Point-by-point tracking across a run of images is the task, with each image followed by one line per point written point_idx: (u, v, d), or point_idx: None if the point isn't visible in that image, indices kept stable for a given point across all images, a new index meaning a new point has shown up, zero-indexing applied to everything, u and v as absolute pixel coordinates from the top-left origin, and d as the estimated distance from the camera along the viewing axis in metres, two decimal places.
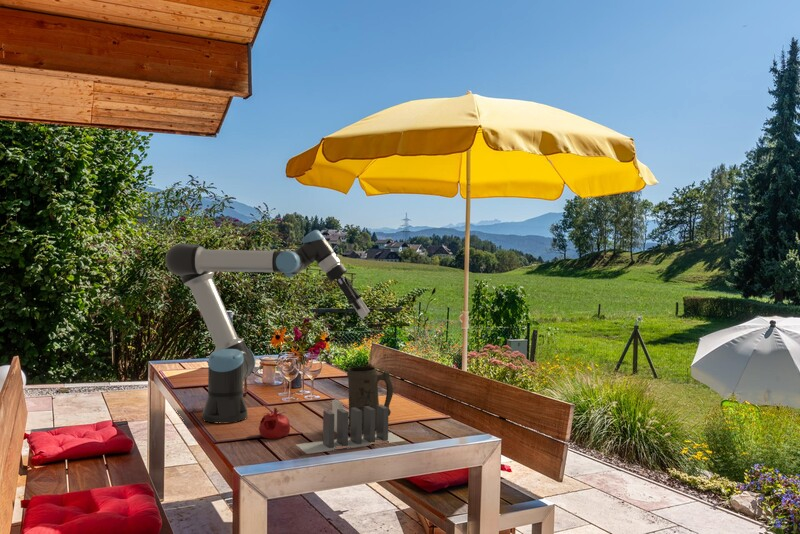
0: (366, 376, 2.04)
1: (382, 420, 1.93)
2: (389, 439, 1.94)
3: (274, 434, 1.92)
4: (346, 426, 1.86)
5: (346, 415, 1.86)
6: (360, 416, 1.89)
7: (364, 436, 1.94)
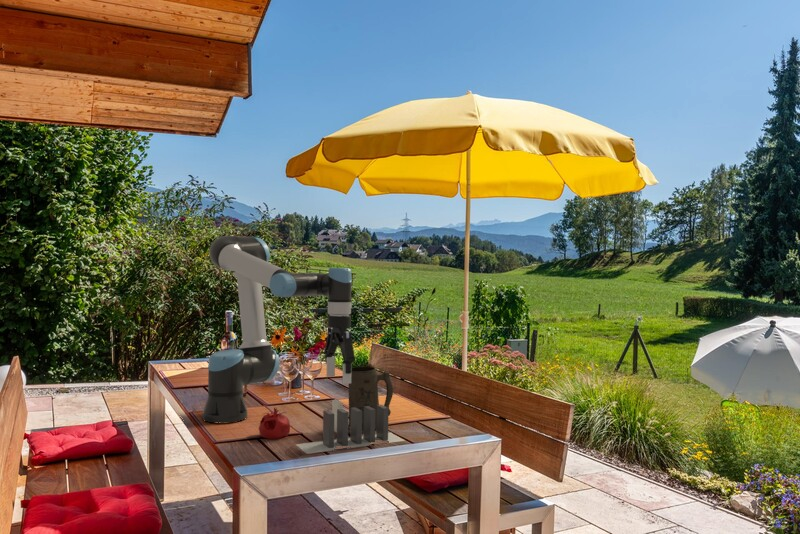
0: (366, 376, 2.04)
1: (382, 420, 1.93)
2: (389, 439, 1.94)
3: (274, 434, 1.92)
4: (346, 426, 1.86)
5: (346, 415, 1.86)
6: (360, 416, 1.89)
7: (364, 436, 1.94)
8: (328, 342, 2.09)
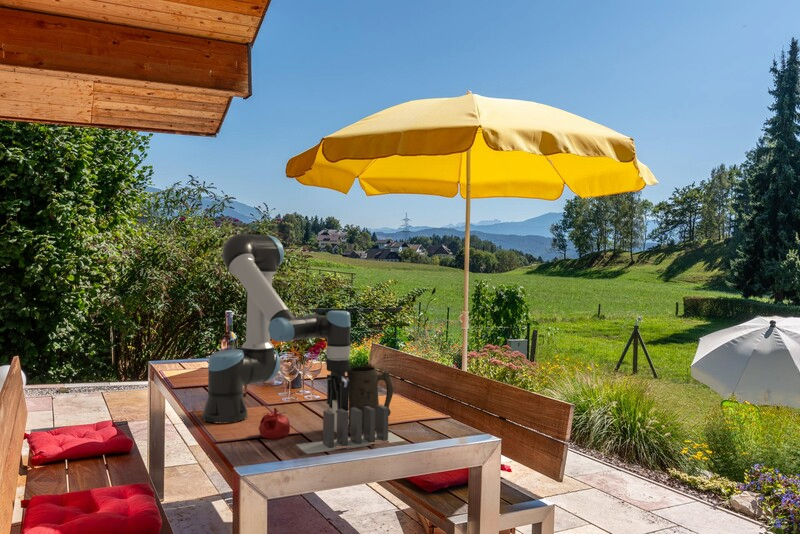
0: (366, 376, 2.04)
1: (382, 420, 1.93)
2: (389, 439, 1.94)
3: (274, 434, 1.92)
4: (346, 426, 1.86)
5: (346, 415, 1.86)
6: (360, 416, 1.89)
7: (364, 436, 1.94)
8: (329, 389, 2.07)
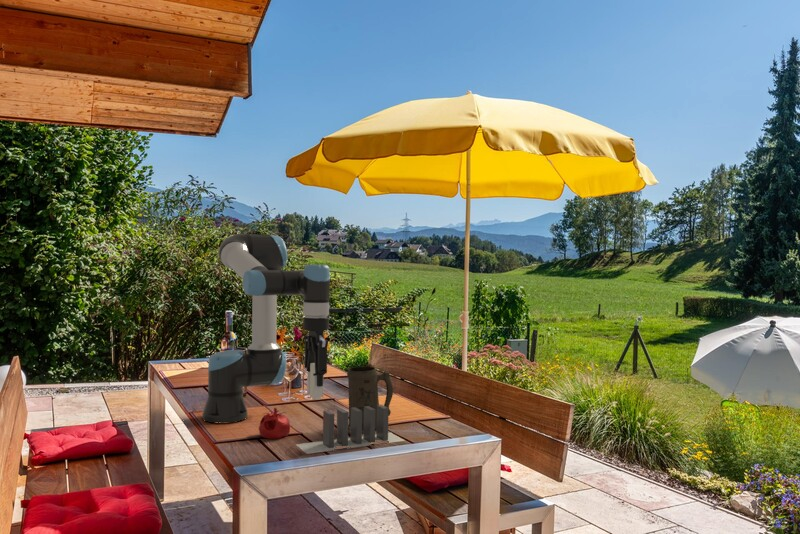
0: (366, 376, 2.04)
1: (382, 420, 1.93)
2: (389, 439, 1.94)
3: (274, 434, 1.92)
4: (346, 426, 1.86)
5: (346, 415, 1.86)
6: (360, 416, 1.89)
7: (364, 436, 1.94)
8: (307, 352, 1.88)
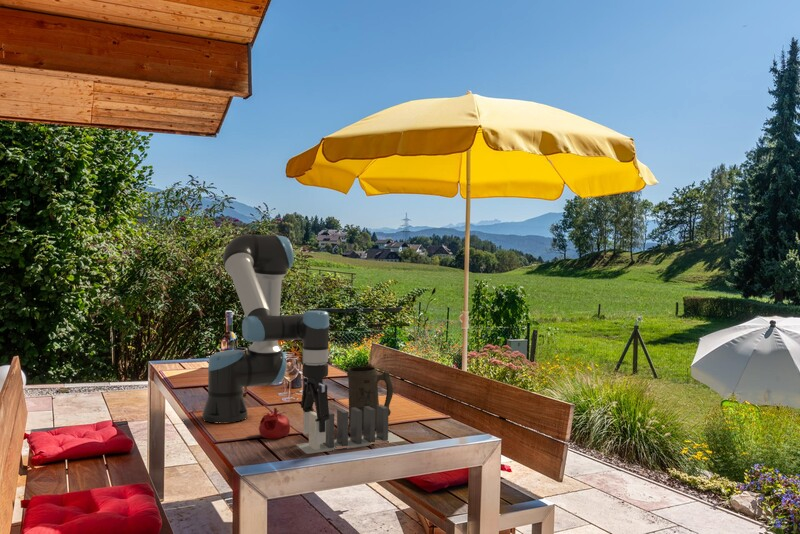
0: (366, 376, 2.04)
1: (382, 420, 1.93)
2: (389, 439, 1.94)
3: (274, 434, 1.92)
4: (346, 426, 1.86)
5: (346, 415, 1.86)
6: (360, 416, 1.89)
7: (364, 436, 1.94)
8: (305, 394, 1.90)
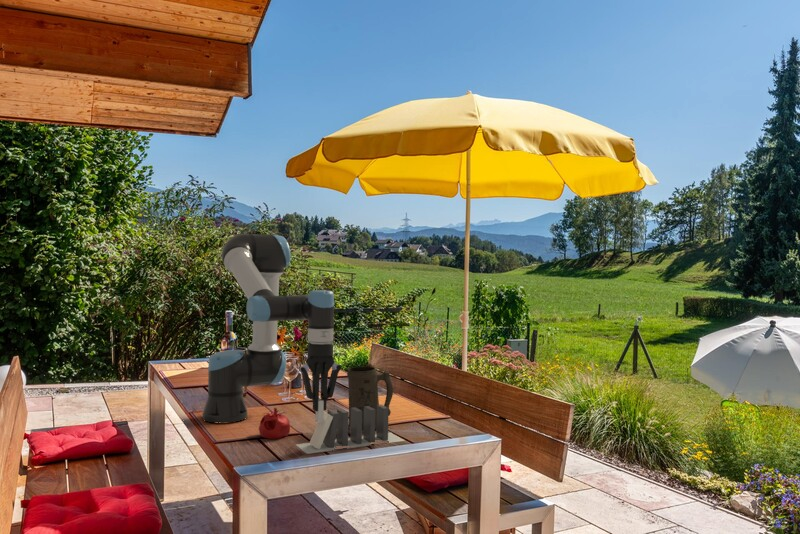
0: (366, 376, 2.04)
1: (382, 420, 1.93)
2: (389, 439, 1.94)
3: (274, 434, 1.92)
4: (346, 426, 1.86)
5: (346, 415, 1.86)
6: (360, 416, 1.89)
7: (364, 436, 1.94)
8: (330, 379, 1.87)
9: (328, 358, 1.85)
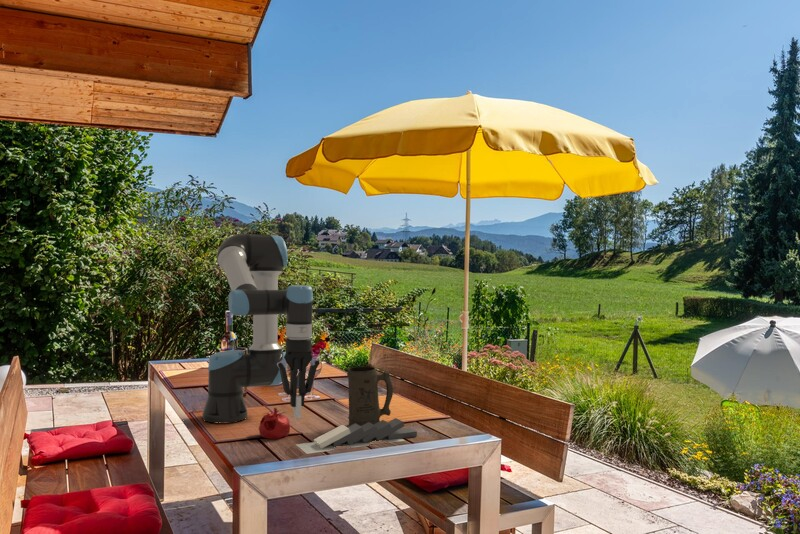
0: (366, 376, 2.04)
1: (404, 432, 1.97)
2: None
3: (274, 434, 1.92)
4: (365, 435, 1.89)
5: (374, 429, 1.91)
6: (386, 429, 1.93)
7: None
8: (308, 375, 1.86)
9: (306, 354, 1.84)
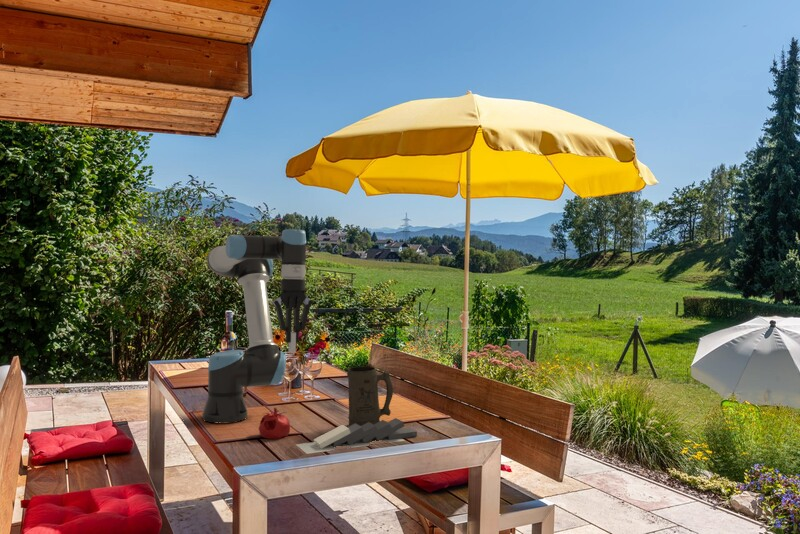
0: (366, 376, 2.04)
1: (404, 432, 1.97)
2: None
3: (274, 434, 1.92)
4: (365, 435, 1.89)
5: (374, 429, 1.91)
6: (386, 429, 1.93)
7: None
8: (302, 313, 2.00)
9: (300, 293, 1.97)
